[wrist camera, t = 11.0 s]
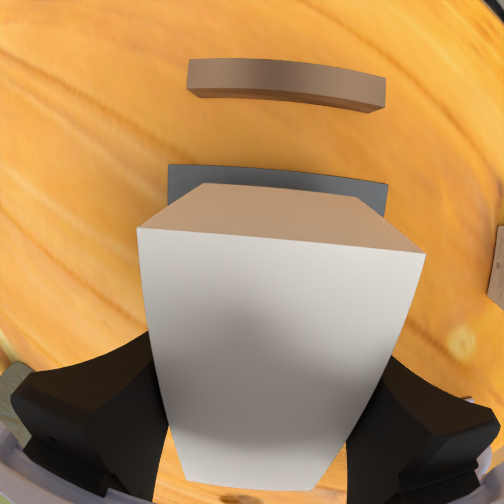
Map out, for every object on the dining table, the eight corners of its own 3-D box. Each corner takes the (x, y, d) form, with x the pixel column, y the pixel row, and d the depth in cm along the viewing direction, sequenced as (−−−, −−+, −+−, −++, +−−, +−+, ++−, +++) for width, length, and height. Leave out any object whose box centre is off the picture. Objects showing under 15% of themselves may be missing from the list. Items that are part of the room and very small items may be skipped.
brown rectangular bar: (369, 88, 13) (385, 78, 10) (368, 113, 13) (384, 107, 11) (202, 72, 13) (189, 59, 11) (199, 97, 14) (186, 88, 11)
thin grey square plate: (387, 184, 14) (388, 184, 14) (346, 360, 18) (347, 362, 18) (169, 164, 15) (168, 164, 15) (175, 344, 19) (174, 346, 19)
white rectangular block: (356, 197, 10) (426, 254, 5) (306, 405, 15) (311, 490, 9) (203, 182, 10) (136, 227, 5) (207, 397, 15) (186, 479, 10)
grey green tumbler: (10, 342, 22) (-50, 404, 11) (75, 400, 23) (26, 478, 12) (10, 380, 25) (-34, 433, 14) (65, 427, 27) (29, 488, 15)
